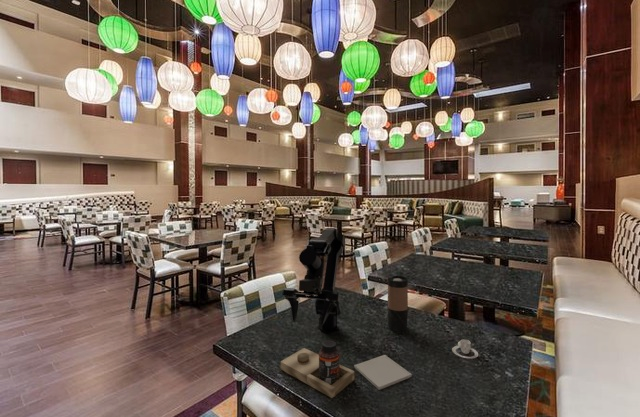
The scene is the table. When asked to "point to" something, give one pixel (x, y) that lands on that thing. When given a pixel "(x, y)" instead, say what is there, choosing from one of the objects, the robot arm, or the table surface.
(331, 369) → the supplement bottle
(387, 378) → the grey pad
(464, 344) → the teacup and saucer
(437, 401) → the table surface
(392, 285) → the travel mug
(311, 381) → the sliding-lid wooden box
